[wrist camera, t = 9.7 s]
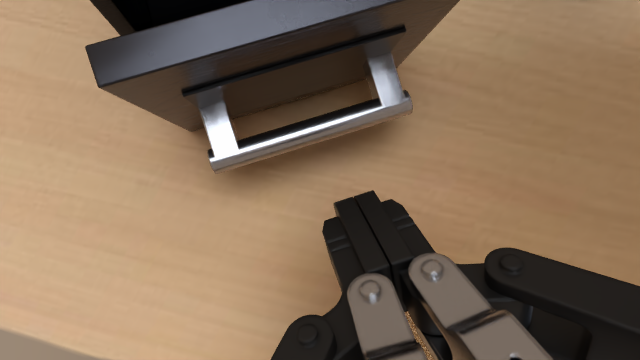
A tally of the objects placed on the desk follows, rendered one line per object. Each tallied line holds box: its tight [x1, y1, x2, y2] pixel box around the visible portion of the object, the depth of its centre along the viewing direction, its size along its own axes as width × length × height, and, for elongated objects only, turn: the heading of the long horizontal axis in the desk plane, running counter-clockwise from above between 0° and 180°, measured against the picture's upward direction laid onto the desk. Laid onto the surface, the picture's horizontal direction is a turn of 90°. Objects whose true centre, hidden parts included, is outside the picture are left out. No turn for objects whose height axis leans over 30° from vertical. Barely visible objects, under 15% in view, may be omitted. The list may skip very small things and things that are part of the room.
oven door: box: [85, 0, 460, 174], centre depth 21 cm, size 5×15×13 cm, turn 108°
